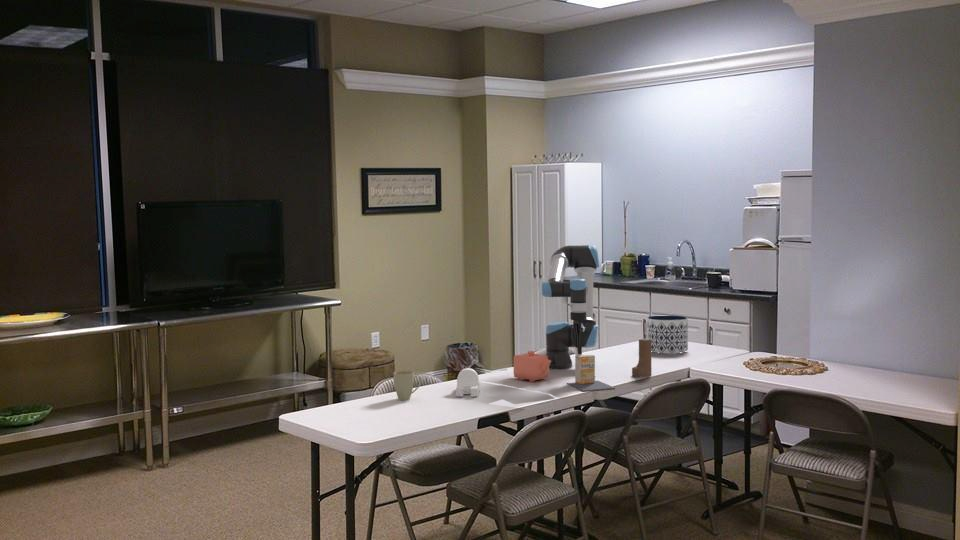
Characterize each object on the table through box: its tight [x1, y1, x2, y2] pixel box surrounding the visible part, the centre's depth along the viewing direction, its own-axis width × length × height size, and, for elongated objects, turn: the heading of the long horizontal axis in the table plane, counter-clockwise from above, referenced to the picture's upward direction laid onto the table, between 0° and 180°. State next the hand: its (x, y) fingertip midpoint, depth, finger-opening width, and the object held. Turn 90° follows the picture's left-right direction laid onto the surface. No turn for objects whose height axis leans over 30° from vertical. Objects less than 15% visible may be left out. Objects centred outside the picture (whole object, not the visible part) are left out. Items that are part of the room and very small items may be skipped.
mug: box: [393, 370, 423, 401], centre depth 380 cm, size 11×10×12 cm
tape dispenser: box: [455, 367, 481, 398], centre depth 393 cm, size 10×18×11 cm, turn 177°
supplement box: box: [574, 353, 596, 384], centre depth 406 cm, size 8×5×13 cm, turn 115°
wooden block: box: [631, 338, 652, 378], centre depth 423 cm, size 9×4×18 cm, turn 123°
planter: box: [646, 314, 689, 354], centre depth 489 cm, size 22×22×20 cm
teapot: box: [513, 350, 551, 383], centre depth 417 cm, size 22×13×14 cm, turn 47°
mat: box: [566, 380, 616, 393], centre depth 401 cm, size 18×16×1 cm
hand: (578, 360), depth 412 cm, fingers closed
